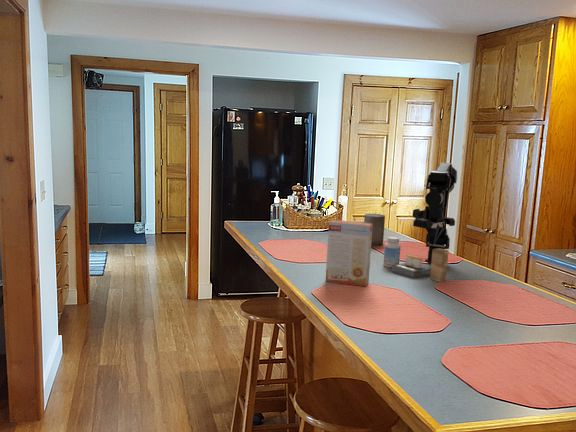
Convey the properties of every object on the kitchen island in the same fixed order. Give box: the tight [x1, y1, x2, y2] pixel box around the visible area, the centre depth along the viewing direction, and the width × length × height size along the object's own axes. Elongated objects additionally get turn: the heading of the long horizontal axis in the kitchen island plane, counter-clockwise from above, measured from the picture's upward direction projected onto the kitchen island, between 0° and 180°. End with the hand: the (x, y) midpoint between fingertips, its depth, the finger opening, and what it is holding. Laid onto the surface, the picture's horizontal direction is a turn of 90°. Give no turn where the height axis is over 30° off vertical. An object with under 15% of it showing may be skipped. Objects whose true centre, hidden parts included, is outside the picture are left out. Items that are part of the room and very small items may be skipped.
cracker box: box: [325, 219, 373, 287], centre depth 178 cm, size 14×6×21 cm, turn 71°
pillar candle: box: [363, 212, 386, 246], centre depth 249 cm, size 10×10×15 cm
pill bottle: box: [382, 236, 401, 268], centre depth 206 cm, size 6×6×11 cm
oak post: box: [429, 248, 450, 283], centre depth 189 cm, size 4×4×11 cm
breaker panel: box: [391, 262, 431, 279], centre depth 197 cm, size 12×10×3 cm
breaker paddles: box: [404, 254, 424, 268], centre depth 196 cm, size 2×7×4 cm, turn 38°
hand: (432, 244), depth 202 cm, fingers closed
